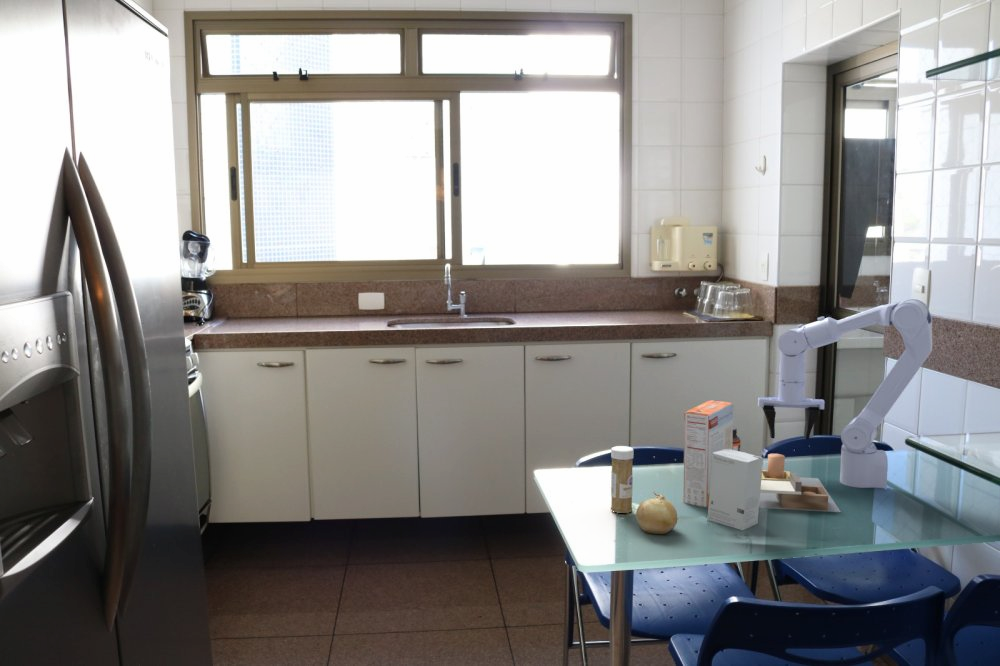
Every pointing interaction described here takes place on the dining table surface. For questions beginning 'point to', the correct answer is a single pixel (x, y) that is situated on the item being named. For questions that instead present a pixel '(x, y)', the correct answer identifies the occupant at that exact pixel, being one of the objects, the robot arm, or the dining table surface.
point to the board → (770, 498)
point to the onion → (656, 515)
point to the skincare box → (735, 488)
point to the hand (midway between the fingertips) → (789, 437)
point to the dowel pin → (775, 466)
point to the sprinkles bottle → (621, 479)
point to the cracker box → (704, 446)
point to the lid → (782, 485)
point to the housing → (805, 499)
